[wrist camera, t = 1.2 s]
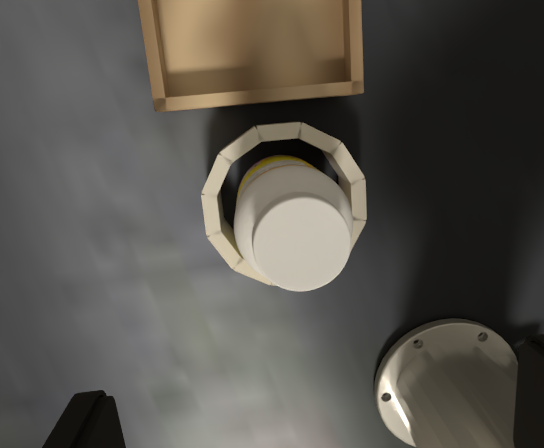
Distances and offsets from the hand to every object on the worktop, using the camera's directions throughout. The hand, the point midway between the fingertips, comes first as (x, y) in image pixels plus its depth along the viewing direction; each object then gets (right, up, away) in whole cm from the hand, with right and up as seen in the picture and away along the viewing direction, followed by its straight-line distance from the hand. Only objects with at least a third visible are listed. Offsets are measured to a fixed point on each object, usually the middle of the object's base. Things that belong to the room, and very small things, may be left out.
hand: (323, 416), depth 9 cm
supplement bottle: (0, +7, +22) cm, 23 cm away
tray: (-3, +19, +19) cm, 27 cm away
